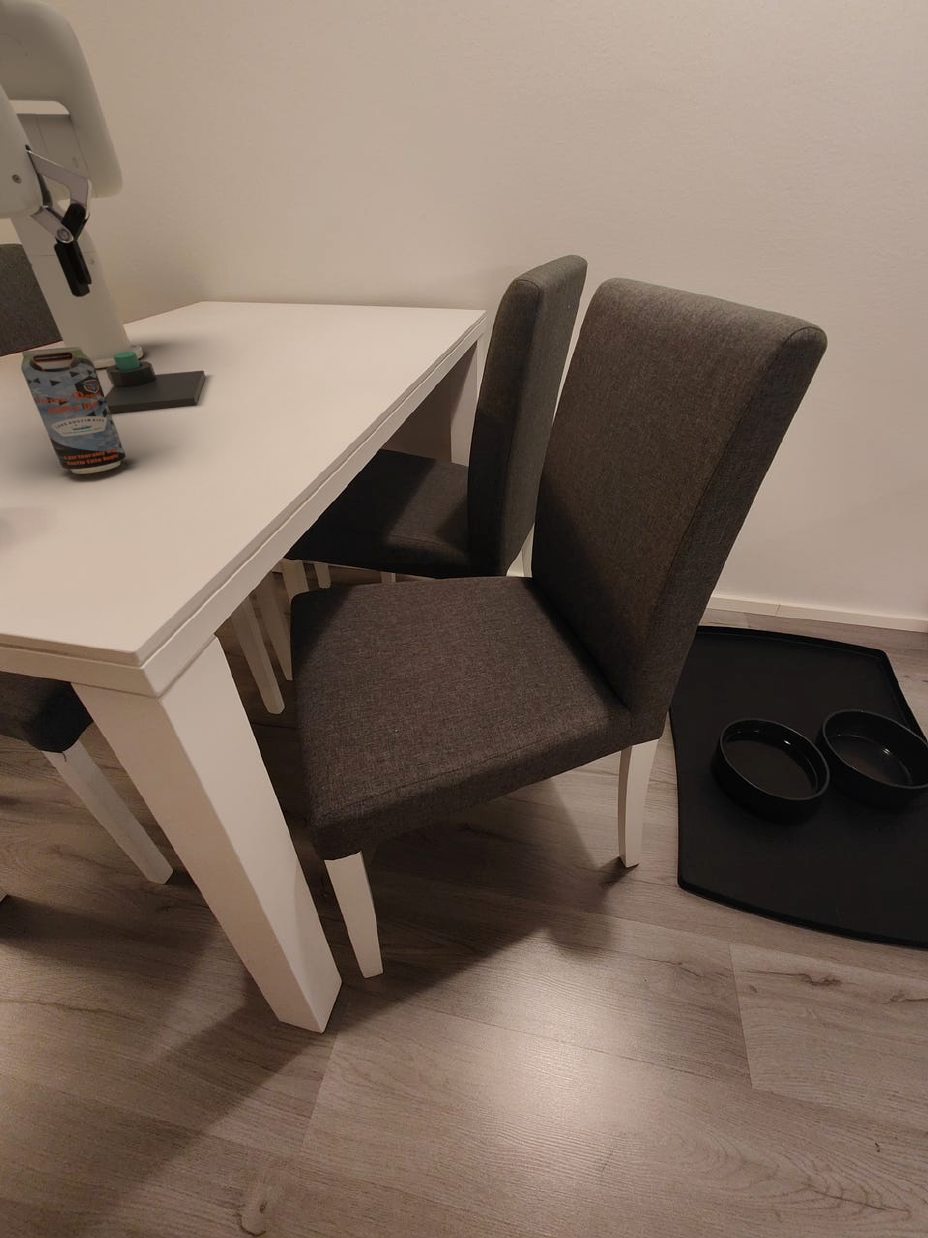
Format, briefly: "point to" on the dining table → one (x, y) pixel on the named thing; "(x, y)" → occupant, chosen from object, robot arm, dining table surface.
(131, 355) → the button
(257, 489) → the dining table surface
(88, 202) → the robot arm
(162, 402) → the scale
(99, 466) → the beverage can
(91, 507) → the dining table surface
